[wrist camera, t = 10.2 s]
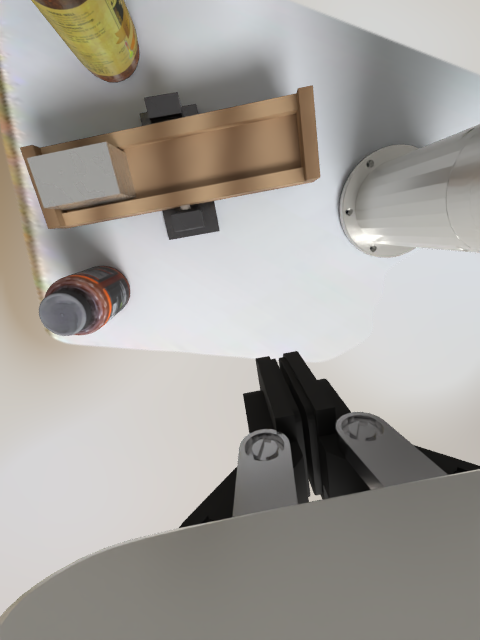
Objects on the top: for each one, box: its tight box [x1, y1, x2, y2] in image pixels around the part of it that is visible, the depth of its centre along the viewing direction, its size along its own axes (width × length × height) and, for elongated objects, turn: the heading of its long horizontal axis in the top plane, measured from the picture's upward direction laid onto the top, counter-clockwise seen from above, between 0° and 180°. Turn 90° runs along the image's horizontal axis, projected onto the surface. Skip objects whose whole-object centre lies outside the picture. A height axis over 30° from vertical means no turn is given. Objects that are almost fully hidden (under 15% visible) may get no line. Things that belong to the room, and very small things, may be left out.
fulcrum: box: [140, 92, 219, 240], centre depth 31 cm, size 26×13×6 cm, turn 100°
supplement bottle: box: [39, 266, 130, 336], centre depth 31 cm, size 6×6×11 cm
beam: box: [20, 85, 320, 229], centre depth 29 cm, size 26×8×6 cm, turn 100°
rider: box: [27, 142, 137, 210], centre depth 27 cm, size 7×4×4 cm, turn 100°
